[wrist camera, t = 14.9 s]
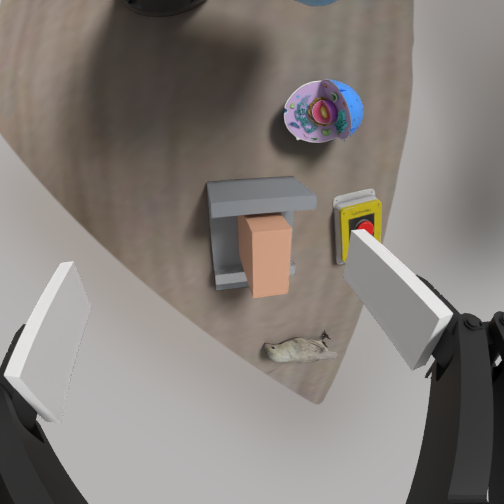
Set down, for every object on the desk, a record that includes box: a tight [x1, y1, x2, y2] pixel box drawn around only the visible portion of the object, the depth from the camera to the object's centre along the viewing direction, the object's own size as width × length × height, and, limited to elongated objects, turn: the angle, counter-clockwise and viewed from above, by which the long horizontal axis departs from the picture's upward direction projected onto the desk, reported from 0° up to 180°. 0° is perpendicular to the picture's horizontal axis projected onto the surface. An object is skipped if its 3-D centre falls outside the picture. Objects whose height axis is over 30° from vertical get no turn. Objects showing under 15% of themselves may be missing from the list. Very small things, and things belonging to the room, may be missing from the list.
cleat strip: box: [214, 259, 295, 285], centre depth 50 cm, size 2×14×2 cm, turn 91°
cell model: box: [284, 79, 364, 143], centre depth 36 cm, size 10×12×10 cm
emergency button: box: [333, 189, 381, 265], centre depth 52 cm, size 9×4×15 cm
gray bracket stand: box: [207, 176, 317, 290], centre depth 45 cm, size 20×14×10 cm
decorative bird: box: [264, 330, 337, 363], centre depth 62 cm, size 5×16×7 cm, turn 85°
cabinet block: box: [238, 212, 292, 298], centre depth 42 cm, size 11×5×12 cm, turn 1°
